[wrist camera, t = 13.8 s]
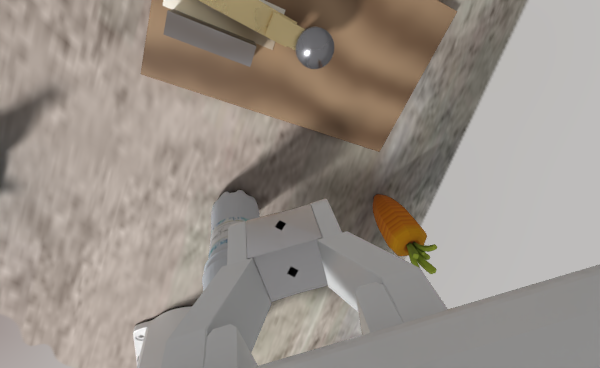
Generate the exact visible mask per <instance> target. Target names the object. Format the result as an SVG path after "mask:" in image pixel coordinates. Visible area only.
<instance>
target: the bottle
mask: <svg viewBox="0 0 600 368" xmlns="http://www.w3.org/2000/svg"><path fill="white" fill-rule="evenodd" d="M258 217H259V209H258V205H257V202H256V200H255V199H254V198H253V197H252V196H248V195H247V194H245V192H244V191H242V190H237V192H233V193H229V192H228V191H227V192H224V193H223V194H222V195H221V196H220V198H219V199H218V200H217V201H216V202H215V203H214V205H213V208H212V215H211V240H210V250H209V259H208V261H207V262H206V264H205V267H204V274H203V278H202V283H203V291H204V290H205V289H206V287H207V286H208V285H209V283H210V282H211V281H212V279H213V278H214V277H215V275H216V274H217V273H218V271H219V270H220V269H221V267H222V266H226V265H227V251H228V228H229V226H230V225H232V224H236V223H239V222H243V221H247V220H251V219H254V218H258Z"/></svg>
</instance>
